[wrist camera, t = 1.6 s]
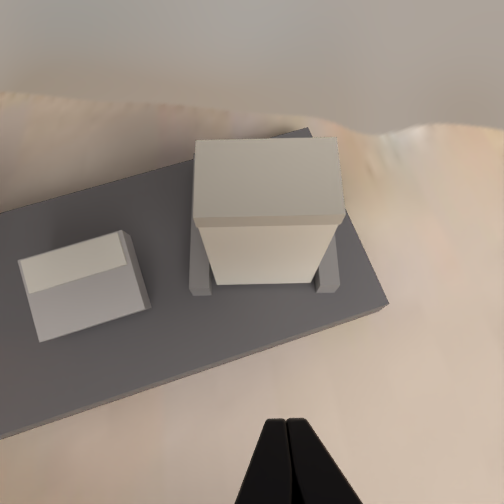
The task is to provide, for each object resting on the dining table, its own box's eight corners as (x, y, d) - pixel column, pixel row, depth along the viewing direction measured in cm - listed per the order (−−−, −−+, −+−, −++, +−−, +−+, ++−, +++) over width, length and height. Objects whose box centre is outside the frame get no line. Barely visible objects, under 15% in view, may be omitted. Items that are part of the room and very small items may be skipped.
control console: (378, 311, 23) (398, 296, 19) (-151, 491, 20) (-233, 509, 16) (304, 146, 27) (311, 111, 23) (-145, 273, 24) (-209, 253, 20)
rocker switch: (151, 307, 20) (144, 309, 18) (55, 338, 20) (37, 343, 18) (130, 235, 21) (120, 229, 19) (35, 263, 20) (15, 260, 18)
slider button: (311, 283, 21) (345, 214, 13) (216, 285, 21) (192, 217, 13) (307, 230, 22) (336, 137, 14) (216, 232, 22) (195, 140, 14)
